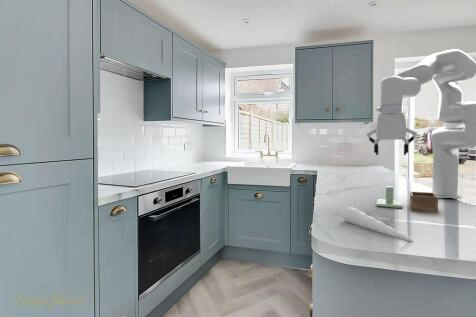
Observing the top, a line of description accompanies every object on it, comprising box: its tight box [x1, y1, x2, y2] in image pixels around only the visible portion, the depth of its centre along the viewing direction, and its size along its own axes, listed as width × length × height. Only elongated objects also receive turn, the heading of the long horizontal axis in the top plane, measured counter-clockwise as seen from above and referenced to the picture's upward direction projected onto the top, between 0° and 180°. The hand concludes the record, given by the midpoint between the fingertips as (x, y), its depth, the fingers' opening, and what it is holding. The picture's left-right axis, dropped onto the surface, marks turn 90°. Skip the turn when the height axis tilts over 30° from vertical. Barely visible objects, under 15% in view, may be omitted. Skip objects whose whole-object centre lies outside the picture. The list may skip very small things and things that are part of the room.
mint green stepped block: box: [376, 185, 403, 209], centre depth 119 cm, size 12×9×8 cm
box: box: [409, 191, 439, 214], centre depth 111 cm, size 11×8×6 cm
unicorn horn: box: [342, 206, 415, 243], centre depth 86 cm, size 5×24×5 cm, turn 17°
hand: (390, 154), depth 118 cm, fingers open, 9 cm apart
